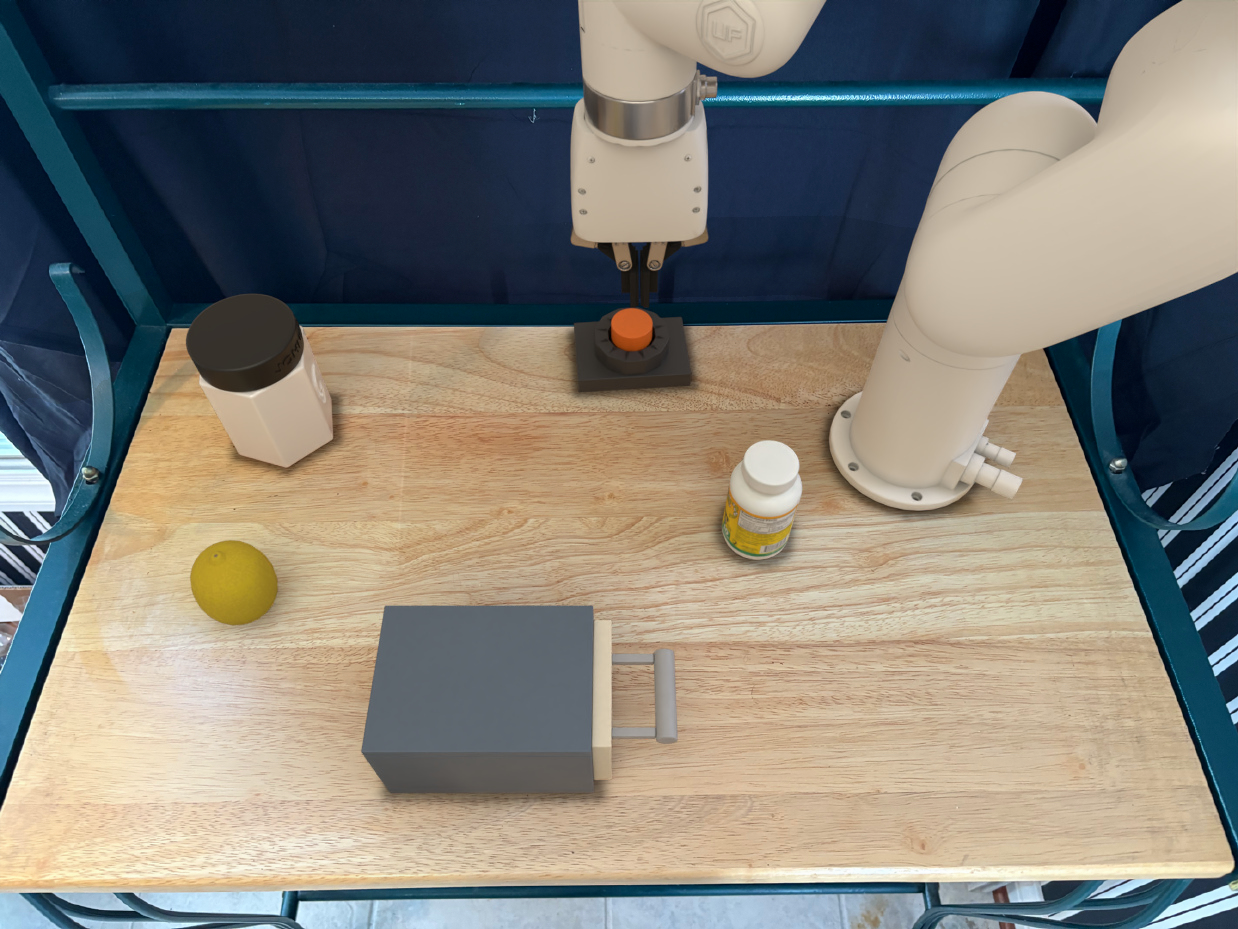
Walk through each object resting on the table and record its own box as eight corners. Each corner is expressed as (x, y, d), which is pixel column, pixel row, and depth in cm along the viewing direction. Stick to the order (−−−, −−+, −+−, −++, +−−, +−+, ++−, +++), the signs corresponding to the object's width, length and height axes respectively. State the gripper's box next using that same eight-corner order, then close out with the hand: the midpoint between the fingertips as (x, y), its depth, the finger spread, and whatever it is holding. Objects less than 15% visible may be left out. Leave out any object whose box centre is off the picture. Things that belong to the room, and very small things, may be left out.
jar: (337, 460, 76) (297, 365, 67) (237, 477, 75) (181, 383, 65) (333, 381, 81) (295, 281, 72) (239, 396, 80) (187, 297, 71)
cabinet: (595, 658, 66) (593, 605, 59) (593, 793, 61) (591, 752, 54) (408, 658, 66) (384, 605, 59) (389, 793, 61) (360, 752, 54)
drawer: (670, 661, 65) (675, 619, 60) (674, 780, 60) (681, 746, 55) (437, 661, 65) (420, 619, 60) (423, 780, 60) (403, 747, 55)
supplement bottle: (777, 571, 70) (797, 503, 63) (711, 548, 72) (723, 479, 64) (795, 516, 73) (817, 445, 66) (732, 495, 74) (746, 423, 67)
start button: (649, 320, 82) (650, 306, 80) (653, 350, 80) (654, 336, 78) (609, 323, 81) (609, 309, 80) (612, 352, 79) (612, 339, 78)
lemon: (272, 648, 67) (235, 598, 60) (202, 634, 67) (157, 583, 61) (302, 583, 70) (270, 528, 63) (235, 570, 70) (196, 514, 64)
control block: (680, 329, 85) (683, 302, 82) (690, 386, 81) (693, 359, 78) (574, 335, 85) (572, 308, 82) (578, 393, 81) (577, 366, 78)
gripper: (745, 62, 63) (725, 264, 78) (531, 66, 64) (552, 267, 78) (755, 126, 59) (732, 327, 74) (525, 130, 59) (548, 329, 74)
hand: (639, 295), depth 76 cm, fingers closed
